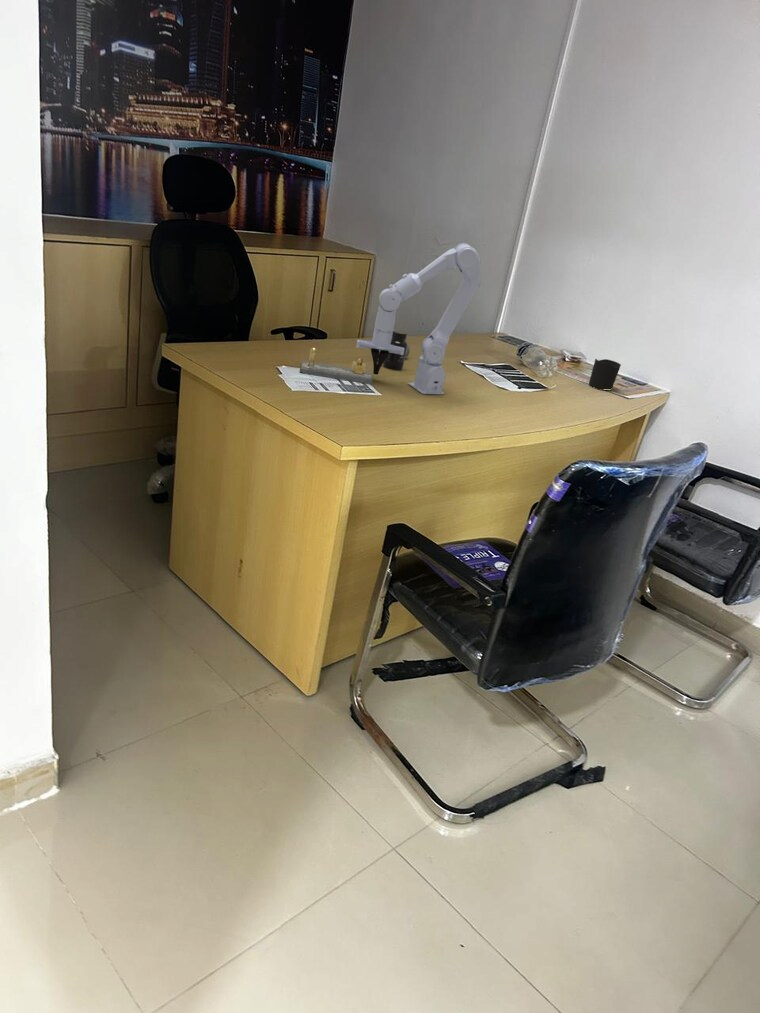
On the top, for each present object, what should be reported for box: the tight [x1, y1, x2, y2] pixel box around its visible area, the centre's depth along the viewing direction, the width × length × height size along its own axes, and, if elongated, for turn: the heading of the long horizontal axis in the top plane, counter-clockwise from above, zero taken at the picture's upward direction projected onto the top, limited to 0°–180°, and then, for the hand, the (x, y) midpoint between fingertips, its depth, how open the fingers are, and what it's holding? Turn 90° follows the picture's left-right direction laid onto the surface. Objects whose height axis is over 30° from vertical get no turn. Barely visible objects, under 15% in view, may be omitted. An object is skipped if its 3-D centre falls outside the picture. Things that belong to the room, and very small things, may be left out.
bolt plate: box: [299, 347, 373, 385], centre depth 222 cm, size 22×10×7 cm, turn 93°
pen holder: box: [588, 358, 622, 390], centre depth 271 cm, size 9×9×10 cm
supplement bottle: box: [382, 329, 407, 371], centre depth 241 cm, size 7×7×12 cm
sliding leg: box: [351, 357, 367, 374], centre depth 222 cm, size 4×6×4 cm, turn 3°
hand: (375, 373), depth 224 cm, fingers closed
